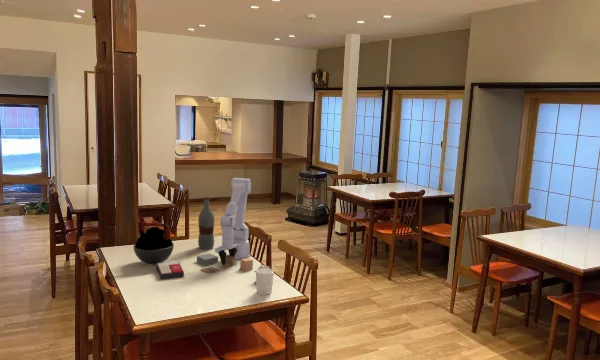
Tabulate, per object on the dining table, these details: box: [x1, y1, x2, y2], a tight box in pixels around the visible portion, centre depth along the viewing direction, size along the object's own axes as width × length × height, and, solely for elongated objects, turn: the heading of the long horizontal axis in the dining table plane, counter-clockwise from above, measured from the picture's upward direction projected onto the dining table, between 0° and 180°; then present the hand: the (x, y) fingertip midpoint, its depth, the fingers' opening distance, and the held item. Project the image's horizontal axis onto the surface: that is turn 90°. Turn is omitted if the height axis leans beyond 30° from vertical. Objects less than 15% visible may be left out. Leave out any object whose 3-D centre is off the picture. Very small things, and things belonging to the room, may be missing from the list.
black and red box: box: [155, 260, 185, 281], centre depth 233 cm, size 11×4×15 cm
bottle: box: [197, 196, 215, 251], centre depth 276 cm, size 9×9×30 cm
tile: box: [200, 265, 221, 274], centre depth 240 cm, size 7×7×1 cm
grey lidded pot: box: [254, 263, 275, 276], centre depth 228 cm, size 9×8×10 cm
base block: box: [196, 253, 219, 266], centre depth 252 cm, size 8×8×4 cm
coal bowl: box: [133, 226, 175, 265], centre depth 246 cm, size 20×20×19 cm
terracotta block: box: [239, 257, 254, 272], centre depth 244 cm, size 4×4×5 cm
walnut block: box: [220, 254, 234, 269], centre depth 248 cm, size 4×4×5 cm
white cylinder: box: [255, 268, 275, 296], centre depth 213 cm, size 8×8×10 cm
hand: (227, 263), depth 248 cm, fingers closed on walnut block, 5 cm apart
